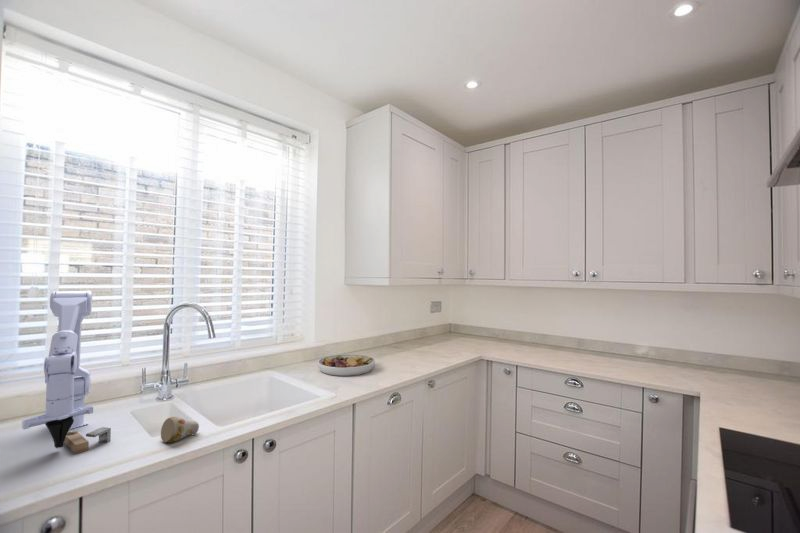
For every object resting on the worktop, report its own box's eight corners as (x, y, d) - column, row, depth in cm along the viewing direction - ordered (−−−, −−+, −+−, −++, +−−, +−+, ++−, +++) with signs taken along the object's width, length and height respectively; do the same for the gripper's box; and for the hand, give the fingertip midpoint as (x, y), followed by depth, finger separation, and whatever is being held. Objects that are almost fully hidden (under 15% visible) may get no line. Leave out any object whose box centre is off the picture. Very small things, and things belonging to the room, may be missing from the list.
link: (62, 442, 109) (62, 431, 109) (75, 438, 111) (76, 428, 111) (74, 454, 102) (75, 443, 102) (88, 449, 104) (89, 439, 104)
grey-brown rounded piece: (206, 434, 116) (194, 413, 111) (173, 458, 109) (160, 436, 105) (195, 422, 120) (184, 401, 115) (164, 444, 114) (150, 423, 109)
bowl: (327, 362, 211) (327, 348, 211) (379, 364, 208) (379, 350, 208) (309, 376, 181) (309, 360, 181) (369, 379, 178) (369, 362, 179)
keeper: (85, 447, 106) (86, 433, 106) (102, 440, 110) (102, 427, 111) (94, 448, 105) (94, 434, 105) (110, 441, 110) (110, 427, 110)
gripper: (26, 408, 95) (25, 461, 95) (97, 393, 107) (95, 440, 106) (21, 402, 99) (19, 453, 99) (89, 388, 111) (88, 434, 111)
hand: (58, 446), depth 103 cm, fingers closed
